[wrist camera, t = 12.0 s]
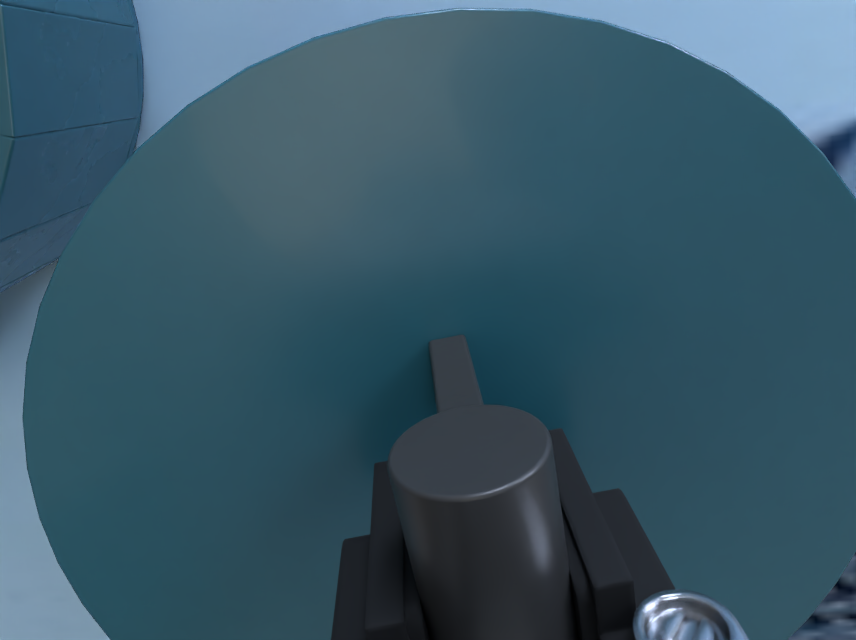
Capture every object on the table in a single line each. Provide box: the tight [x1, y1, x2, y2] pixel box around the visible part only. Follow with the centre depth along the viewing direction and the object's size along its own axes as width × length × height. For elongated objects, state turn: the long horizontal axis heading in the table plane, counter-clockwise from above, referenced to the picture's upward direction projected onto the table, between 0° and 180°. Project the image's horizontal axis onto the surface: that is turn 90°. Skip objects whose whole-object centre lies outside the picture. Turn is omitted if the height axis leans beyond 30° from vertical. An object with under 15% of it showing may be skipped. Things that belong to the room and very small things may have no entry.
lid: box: [23, 8, 856, 640], centre depth 11 cm, size 18×18×6 cm
